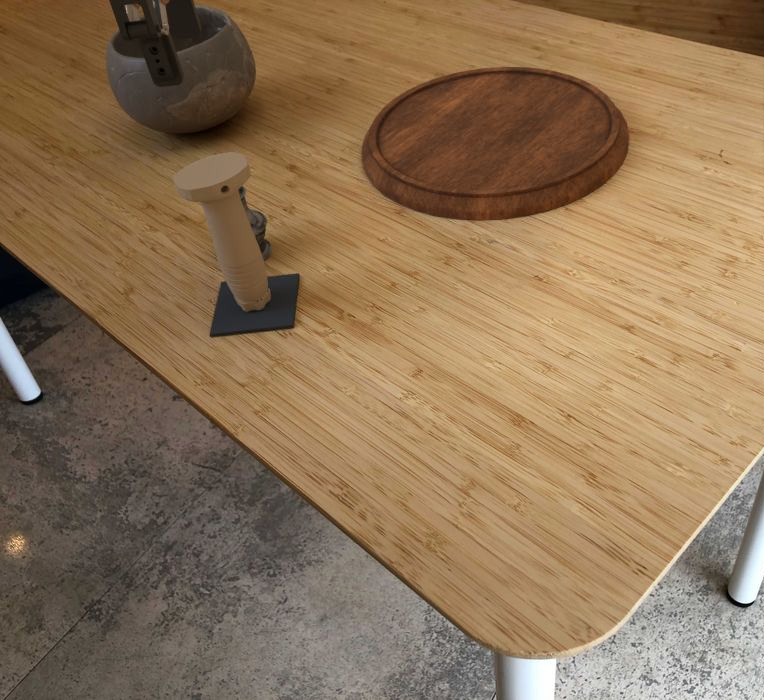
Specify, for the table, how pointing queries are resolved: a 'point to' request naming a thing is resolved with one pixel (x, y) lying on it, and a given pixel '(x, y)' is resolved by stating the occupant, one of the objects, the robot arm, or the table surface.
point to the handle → (228, 223)
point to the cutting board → (495, 143)
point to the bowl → (186, 77)
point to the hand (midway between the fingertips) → (180, 59)
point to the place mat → (271, 317)
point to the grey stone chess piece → (256, 225)
